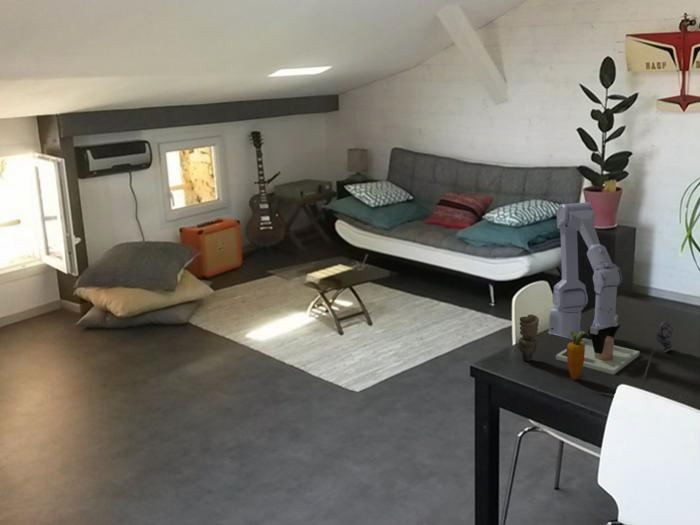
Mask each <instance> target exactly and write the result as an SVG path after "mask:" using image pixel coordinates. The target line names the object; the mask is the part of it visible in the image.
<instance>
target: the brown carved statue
mask: <svg viewBox="0 0 700 525" xmlns="http://www.w3.org/2000/svg"><path fill="white" fill-rule="evenodd" d="M519 321H520V322H519V325H520V326H519V330H520V331H519V334H520V336H522V337H520V338H519V339H518V349H519V351H520V352H521V355H522V356H521V359H522V360H523V361H526V362H531V361H532V360H533V358H532V356H533V353H534V352H535V351H536V350H537V345H538V341H537V339H536V338H535V336H536V335H538V330H539V326H540V325H539V321H540V320H539V316H537V315H535V314H528V315H526V316H521V317H519Z"/></svg>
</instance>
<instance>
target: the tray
mask: <svg viewBox="0 0 700 525" xmlns="http://www.w3.org/2000/svg"><path fill="white" fill-rule="evenodd" d="M581 339H583V341H581V342H580V343H582V344H584V345H585V354H584V363H583V367H582V368H584V367H585V368H587V369H591V370H595V371H599V372H602V373H605V374H610V375H616V374H617V373H618V372H620V371H621V370H622V369H623V368H625V367H626V366H628V365H629V364H630V363H631V362H633V361H634V360H635V359H637V358H638V357H639V356H640V351H639V350H635V349H631V348H627V347H622V346H620V345H619V346H618V345H615V344H614V347H613V359H612V360H608V361H604V360H599V359H596V358H595V352H594V348H593V343H592V340H591V338H589V339H588V338H585V337H583V338H582V337H581ZM566 353H567V348H565V349H564V350H561V351H560V352H558V353H557V354H556V355H555V360H557V361H561V362H565V363H568V362H567V357H566Z"/></svg>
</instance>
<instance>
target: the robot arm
mask: <svg viewBox="0 0 700 525" xmlns="http://www.w3.org/2000/svg"><path fill="white" fill-rule="evenodd" d="M594 220H595V209H594V206H593V204H592V203H591V202H590V201H586V202H577V203H575V202H574V203H561V204H560V205H559V206H558V208H557V209H556V225H557V226H556V227H557V229H559V232H560V248H561V249H560V256H561V257H560V259H561V260H560V262H561V280H560V281H558V282H557V283H556V284H555V285H554V286H553V294H552V304H553V307H551V309H550V312H549V318H548V319H549V320H548V332H547V333H548V334H550V335H555V336H558V337H563V338H567V339H570V340H573V338H572V335H571V332H570V331H573V333H574V334H576V338H577V336H578V334H579V333H580V332H582V333H583V335H585V334H586V332H585V331H582V330H581V317H582V311H583V310H584V308H585V307H586V306H587V304H588V302H589V297H588V293H587V288H586V285H585V283H584V282H582V281H581V280H579V257H578V256H579V255H578V253H579V252H578V251H579V250H578V249H579V248H578V231H579V233H580V235H581V237H582V239H583V241H584V243H585V245H586V247H587V248H588V250H587V252H586V256H587V259H588V262H589V263H590V265H591V268H592V270H593V275H592V281H593V282H592V283H593V285H594V286H593V288H594V292H595V302H594V304H595V305H594V319H593V322H592V325H591V326H590V328H589V329H588V330H587V333H588V335H589V337H590V340H592V343H593V348H594V352H595V353H599V354H602V352H603V348H604V343H605V340H606V337H607V336H610V337H612V338H614V339H615V336H616V333H617V332H618V330H619V329H620V328H621V327H620V326H621V325H620V324H619V322H618V320H619V319H618V318H619V315H618V314H616V306H617V294H618V293H617V292H618V287H619V286H620V285H621V284H622V281H623V276H622V271H621V268H619V266H617V265H616V264H615V263H613V262H612V259H611V257H610V254H609V252H608V251H607V248H606V246H605V245H603V244H601V242H600V240H599V237H598V232H597V230H596V227H595V224H594Z"/></svg>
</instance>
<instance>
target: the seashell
mask: <svg viewBox="0 0 700 525" xmlns="http://www.w3.org/2000/svg"><path fill="white" fill-rule="evenodd" d="M656 334H657V336H656V339H655V340H656V341H657V342H658V343H660V344H661V346H662V348H663V351H664V353H667V352H669V351H672V350H673V345H672V344H671V342H672V341H673V340H674V339H675V337H676V336H675V335H676V334H675V333H674V328H673V326H672V324H671V323H670V322H669V321H667V320H665V321H662V322H661V323H660V325H659V328H658V329H657V330H656Z"/></svg>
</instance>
